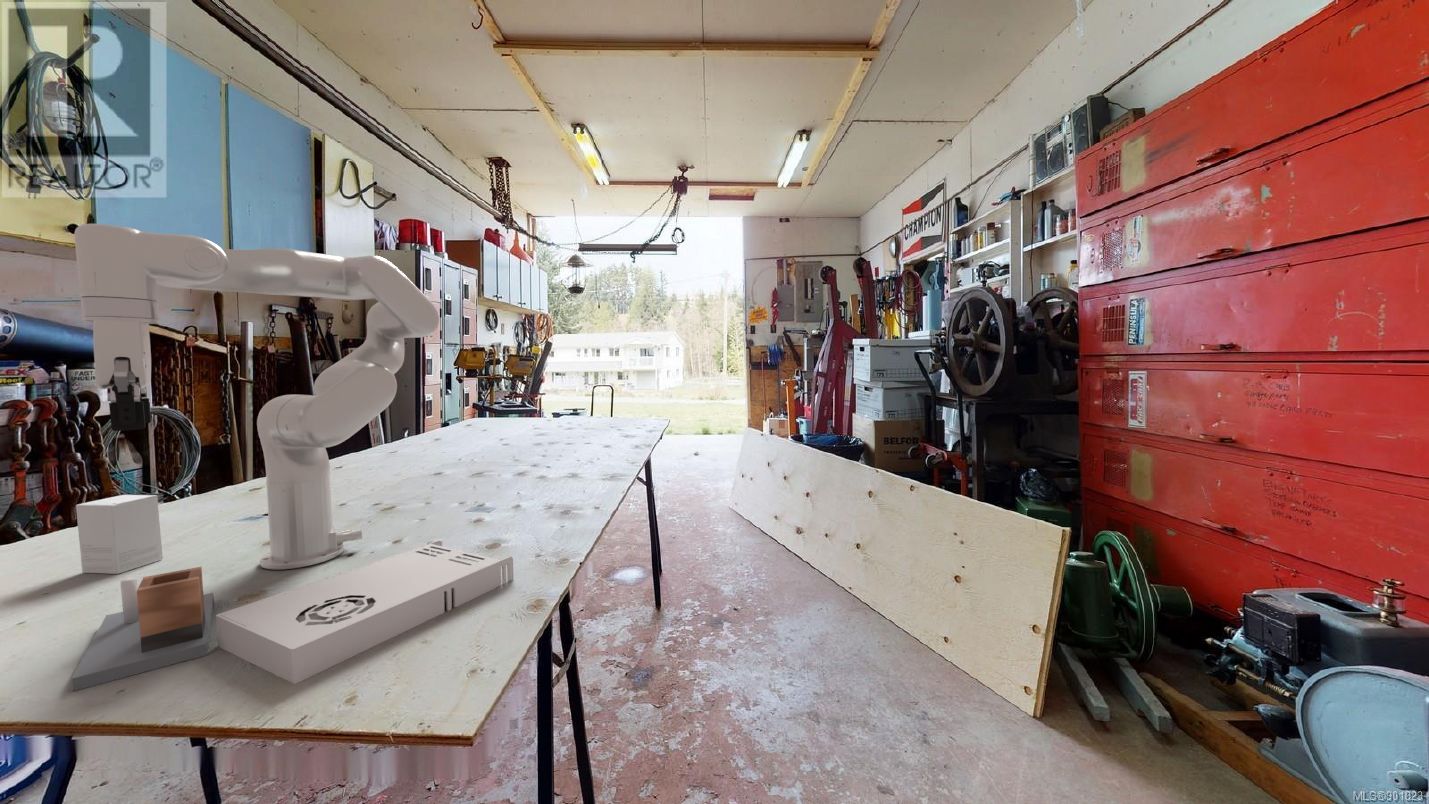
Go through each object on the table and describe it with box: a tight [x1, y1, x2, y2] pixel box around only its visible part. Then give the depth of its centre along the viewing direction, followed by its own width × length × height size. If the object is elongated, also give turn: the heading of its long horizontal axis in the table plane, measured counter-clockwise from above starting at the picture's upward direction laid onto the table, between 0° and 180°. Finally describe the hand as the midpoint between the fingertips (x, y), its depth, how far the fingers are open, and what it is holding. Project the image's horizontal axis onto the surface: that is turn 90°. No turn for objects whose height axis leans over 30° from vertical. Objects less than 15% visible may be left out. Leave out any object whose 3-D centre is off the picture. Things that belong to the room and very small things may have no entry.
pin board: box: [71, 576, 215, 692], centre depth 70 cm, size 11×20×8 cm, turn 42°
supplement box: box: [75, 494, 164, 575], centre depth 95 cm, size 7×7×13 cm
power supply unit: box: [215, 540, 514, 685], centre depth 79 cm, size 19×33×5 cm, turn 154°
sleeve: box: [137, 566, 205, 653], centre depth 68 cm, size 5×5×8 cm
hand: (132, 426), depth 78 cm, fingers open, 9 cm apart
